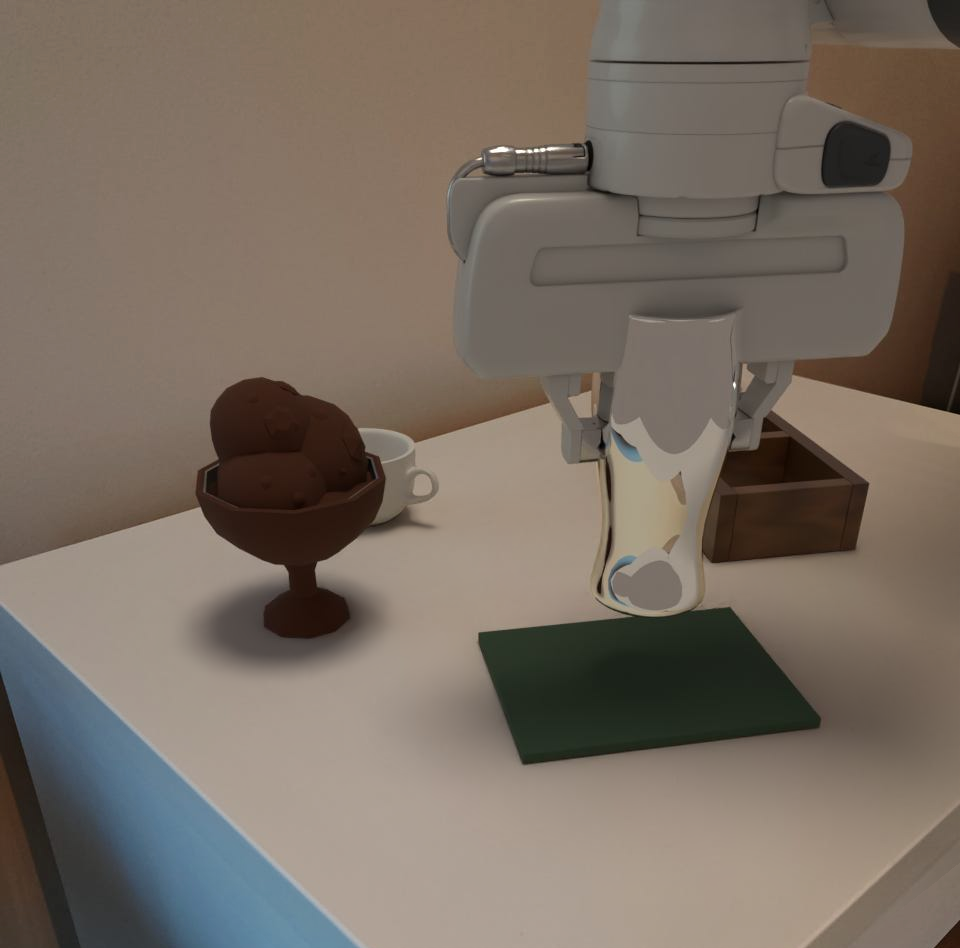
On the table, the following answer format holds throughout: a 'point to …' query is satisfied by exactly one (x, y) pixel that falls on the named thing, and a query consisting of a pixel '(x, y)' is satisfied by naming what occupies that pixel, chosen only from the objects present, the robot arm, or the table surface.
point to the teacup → (396, 470)
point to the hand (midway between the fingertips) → (660, 453)
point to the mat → (638, 684)
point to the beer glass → (663, 458)
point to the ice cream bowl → (289, 492)
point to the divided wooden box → (783, 499)
